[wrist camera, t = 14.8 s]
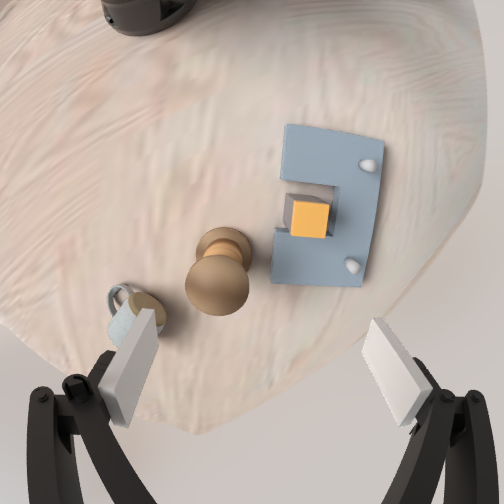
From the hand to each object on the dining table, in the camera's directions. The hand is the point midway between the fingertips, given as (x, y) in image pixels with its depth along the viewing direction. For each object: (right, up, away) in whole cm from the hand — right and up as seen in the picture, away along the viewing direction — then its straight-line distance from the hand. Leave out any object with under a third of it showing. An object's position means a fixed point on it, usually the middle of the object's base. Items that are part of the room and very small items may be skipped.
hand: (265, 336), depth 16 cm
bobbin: (-5, +5, +25) cm, 26 cm away
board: (+10, +11, +24) cm, 28 cm away
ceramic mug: (-20, -4, +28) cm, 35 cm away
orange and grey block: (+6, +11, +24) cm, 27 cm away
